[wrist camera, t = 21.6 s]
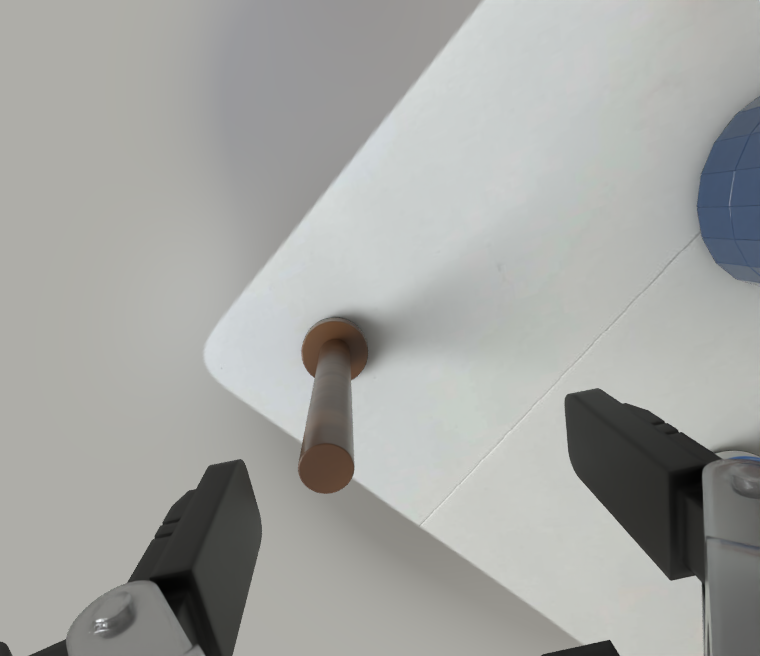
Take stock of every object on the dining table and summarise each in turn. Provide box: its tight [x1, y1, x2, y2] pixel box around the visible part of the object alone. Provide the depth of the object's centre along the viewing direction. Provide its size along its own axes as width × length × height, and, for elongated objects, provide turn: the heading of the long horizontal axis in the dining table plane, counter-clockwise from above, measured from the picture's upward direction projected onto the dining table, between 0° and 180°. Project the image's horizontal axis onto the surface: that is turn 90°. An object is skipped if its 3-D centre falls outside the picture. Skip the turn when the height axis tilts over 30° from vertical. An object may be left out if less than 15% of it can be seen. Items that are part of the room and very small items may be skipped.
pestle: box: [298, 318, 368, 494], centre depth 24 cm, size 4×4×16 cm
